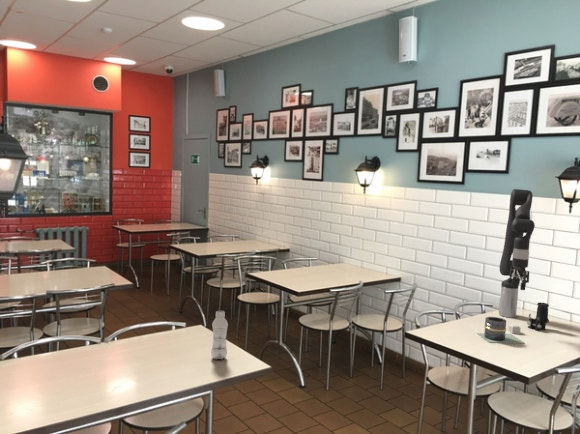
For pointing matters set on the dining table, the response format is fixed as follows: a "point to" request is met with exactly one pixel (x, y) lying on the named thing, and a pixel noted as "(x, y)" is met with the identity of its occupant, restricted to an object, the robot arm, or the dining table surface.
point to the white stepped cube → (514, 329)
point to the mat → (508, 339)
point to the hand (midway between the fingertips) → (518, 288)
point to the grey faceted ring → (495, 328)
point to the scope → (539, 317)
